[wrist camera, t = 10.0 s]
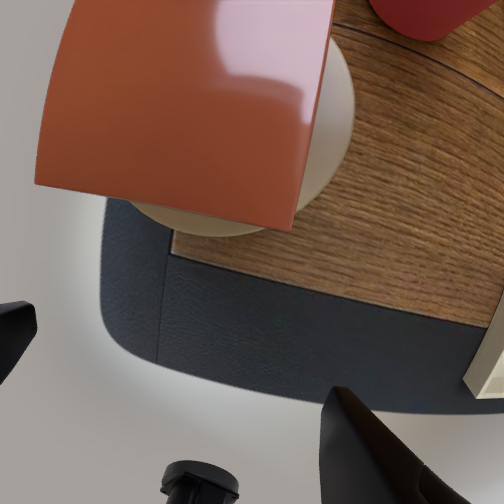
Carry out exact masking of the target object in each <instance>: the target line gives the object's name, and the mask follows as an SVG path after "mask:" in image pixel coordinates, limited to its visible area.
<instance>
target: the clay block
mask: <svg viewBox="0 0 504 504" xmlns="http://www.w3.org/2000/svg"><path fill="white" fill-rule="evenodd" d="M335 5H336V0H75V2H74V4H73V7H72V9H71V12H70V15H69V18H68V20H67V24H66V26H65V29H64V32H63V35H62V38H61V41H60V45H59V48H58V51H57V55H56V58H55V62H54V66H53V70H52V73H51V77H50V82H49V86H48V90H47V95H46V100H45V105H44V110H43V116H42V121H41V128H40V134H39V142H38V149H37V157H36V168H35V179H34V183H35V184H36V185H39V186H45V187H51V188H57V189H63V190H69V191H75V192H81V193H87V194H93V195H98V196H105V197H110V198H115V199H121V200H126V201H132V202H137V203H143V204H148V205H153V206H159V207H164V208H169V209H174V210H180V211H185V212H190V213H195V214H200V215H205V216H210V217H215V218H220V219H225V220H230V221H235V222H240V223H244V224H249V225H254V226H259V227H264V228H268V229H273V230H278V231H282V232H290V231H291V230H292V226H293V222H294V217H295V213H296V208H297V204H298V199H299V195H300V190H301V185H302V181H303V176H304V171H305V167H306V162H307V157H308V152H309V147H310V143H311V138H312V133H313V128H314V123H315V118H316V112H317V107H318V102H319V97H320V92H321V86H322V81H323V75H324V70H325V64H326V59H327V53H328V47H329V42H330V36H331V30H332V24H333V18H334V12H335Z"/></svg>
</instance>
